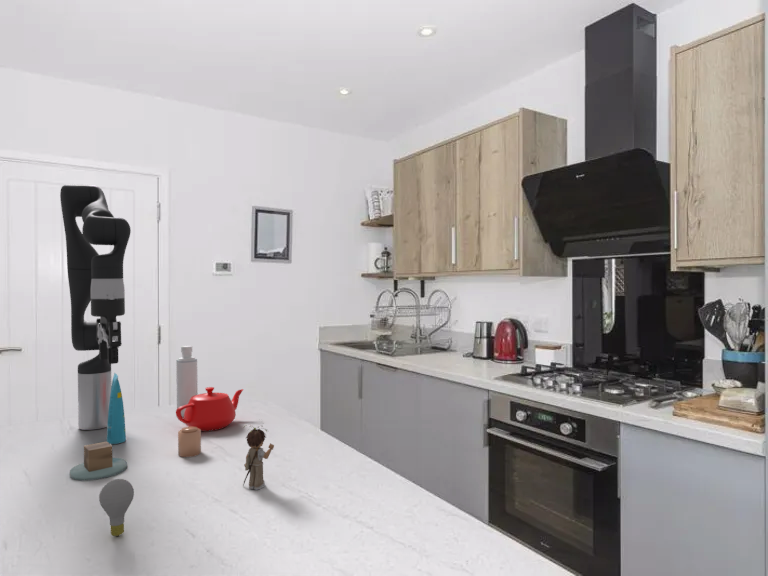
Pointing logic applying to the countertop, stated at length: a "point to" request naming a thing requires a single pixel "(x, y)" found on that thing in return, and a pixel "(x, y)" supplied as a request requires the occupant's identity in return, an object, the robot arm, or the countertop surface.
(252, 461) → the toy
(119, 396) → the tube
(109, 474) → the dish
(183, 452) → the dome-topped cylinder
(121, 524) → the light bulb
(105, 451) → the block
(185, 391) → the white bottle
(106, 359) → the robot arm
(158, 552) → the countertop surface
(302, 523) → the countertop surface
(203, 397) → the teapot
